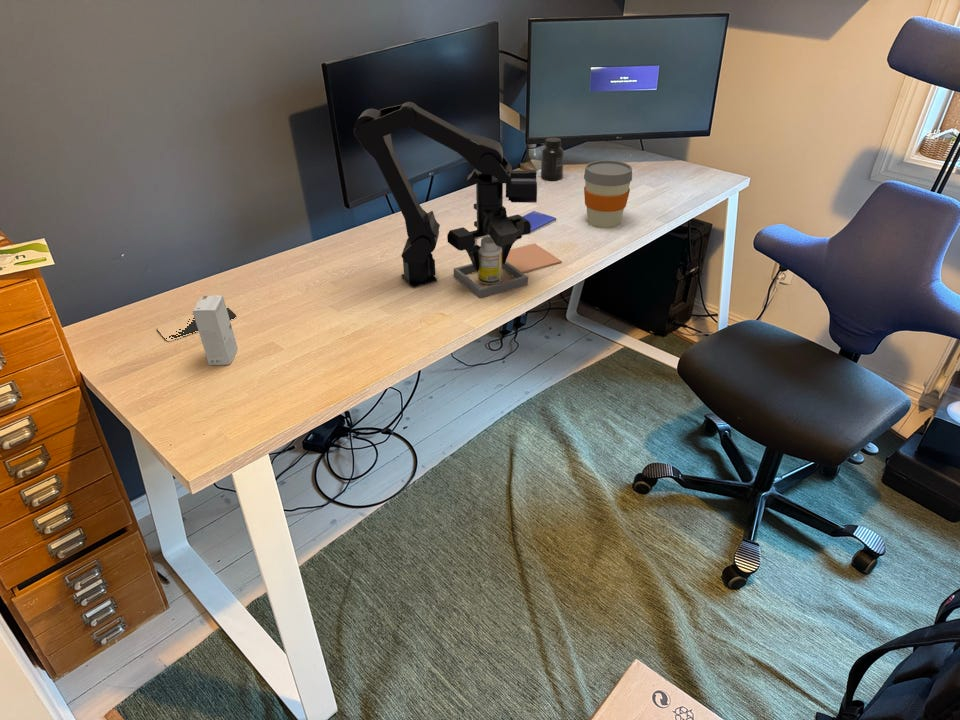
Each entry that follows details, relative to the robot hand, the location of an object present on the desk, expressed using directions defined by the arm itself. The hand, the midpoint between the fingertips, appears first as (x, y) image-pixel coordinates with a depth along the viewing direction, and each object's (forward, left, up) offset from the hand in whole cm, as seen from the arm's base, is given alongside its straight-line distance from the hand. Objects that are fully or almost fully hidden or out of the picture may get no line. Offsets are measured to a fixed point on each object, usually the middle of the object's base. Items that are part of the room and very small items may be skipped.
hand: (490, 266), depth 156 cm
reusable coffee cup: (+44, +14, -4) cm, 46 cm away
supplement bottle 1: (0, 0, -4) cm, 4 cm away
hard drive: (+26, +23, -4) cm, 35 cm away
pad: (+14, +5, -4) cm, 15 cm away
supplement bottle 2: (+52, +51, -4) cm, 73 cm away
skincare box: (-61, -1, -4) cm, 61 cm away
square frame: (0, 0, -4) cm, 4 cm away
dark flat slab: (-63, +15, -4) cm, 65 cm away
